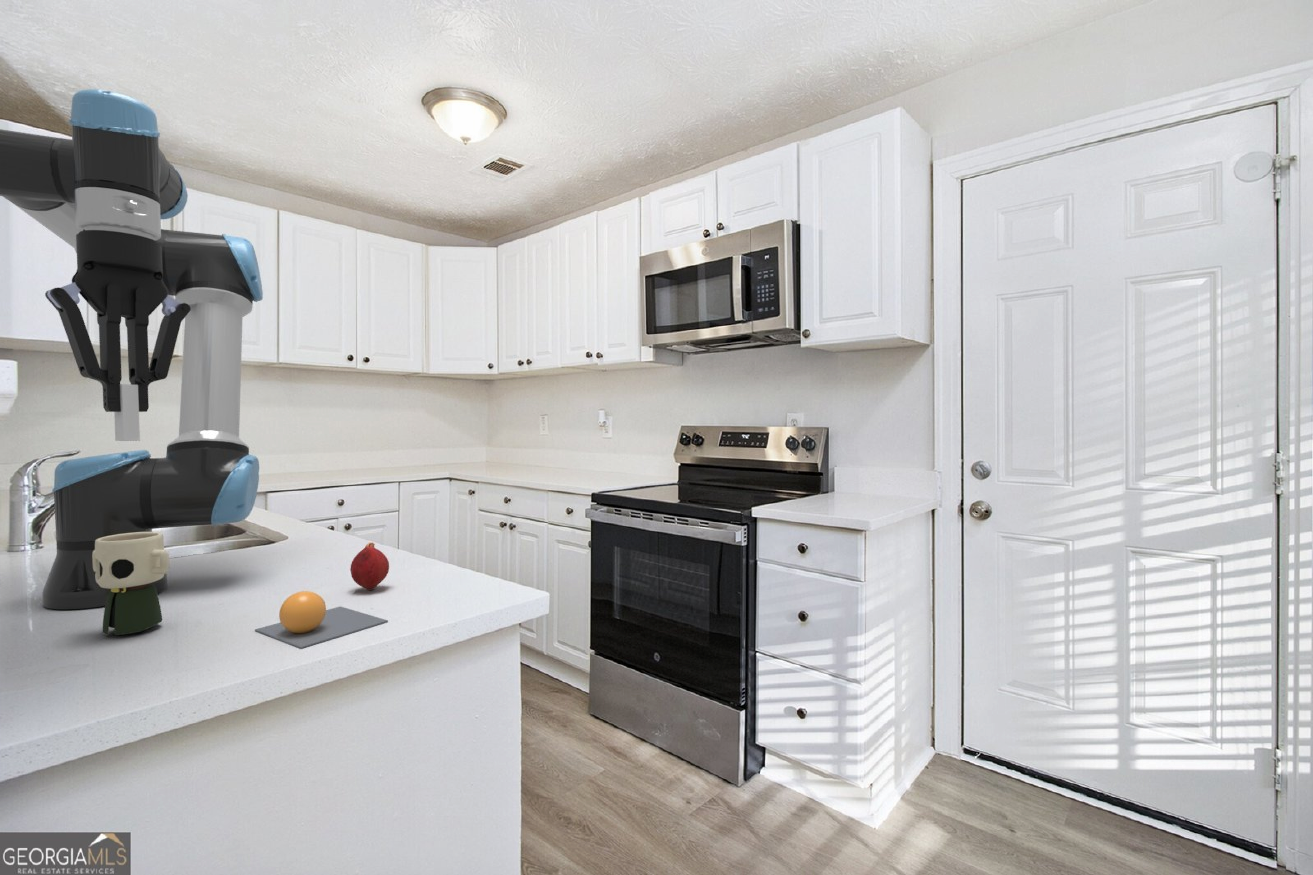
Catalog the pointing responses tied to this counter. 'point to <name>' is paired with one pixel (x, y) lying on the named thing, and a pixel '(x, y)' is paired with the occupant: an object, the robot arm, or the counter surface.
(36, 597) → the counter surface
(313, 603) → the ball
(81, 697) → the counter surface
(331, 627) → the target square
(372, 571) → the onion
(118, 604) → the character mug
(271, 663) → the counter surface
